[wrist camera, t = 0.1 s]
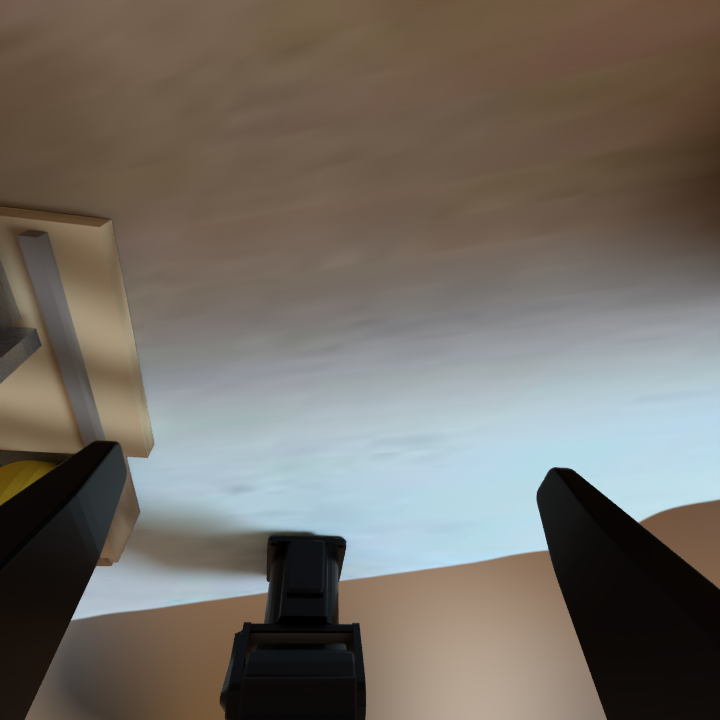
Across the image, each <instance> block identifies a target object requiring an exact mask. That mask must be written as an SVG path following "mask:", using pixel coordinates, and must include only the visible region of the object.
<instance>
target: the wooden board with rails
mask: <svg viewBox="0 0 720 720" xmlns="http://www.w3.org/2000/svg"><path fill="white" fill-rule="evenodd" d="M0 259H1V262H2V265H3V267H4V270H5V273H6V276H7V279H8V281H9V284H10V287H11V290H12V293H13V295H14V298H15V301H16V304H17V307H18V310H19V312H20V315H21V319H20V320H18V321H17V322H16V323H15V324H13V325H12V326H16V327H27V328H36V330H37V333H38V336H39V339H40V342H41V345H42V346H41V347H40V348H39V349H38V350H37V351H35V352H34V353H33V354H32V355H31V356H30V357H29V358H28V359H27V360H26V361H25V362H24V363H22V364H21V365H20V366H19V367H18V368H17V369H16V370H15V371H14V372H13V373H12V374H11V375H9V376H8V377H7V378H6V379H5V380H4V381H3V382H2V383H1V384H0V450H15V451H33V452H52V453H70V454H76V453H77V452H78V451H80V450H81V449H83V448H84V447H86V446H87V445H89V444H90V443H92V442H94V441H96V440H108V441H117V442H119V443H120V445H121V447H122V451H123V455H124V457H142V458H148V456H149V454H150V452H151V450H152V448H153V446H154V440H153V435H152V430H151V424H150V419H149V414H148V409H147V403H146V398H145V393H144V387H143V382H142V377H141V372H140V366H139V361H138V356H137V351H136V345H135V340H134V335H133V330H132V324H131V319H130V314H129V309H128V303H127V298H126V293H125V288H124V282H123V277H122V272H121V267H120V261H119V256H118V251H117V246H116V240H115V235H114V230H113V225H112V220H111V219H102V218H94V217H85V216H77V215H69V214H60V213H52V212H44V211H35V210H27V209H18V208H10V207H2V206H0Z"/></svg>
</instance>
